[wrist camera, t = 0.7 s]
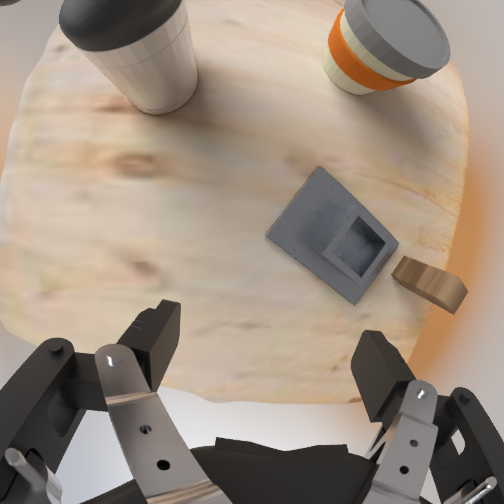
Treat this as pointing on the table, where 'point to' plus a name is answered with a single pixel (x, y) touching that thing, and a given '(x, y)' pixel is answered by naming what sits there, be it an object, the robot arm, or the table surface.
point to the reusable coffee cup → (384, 45)
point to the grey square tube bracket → (333, 235)
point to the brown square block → (431, 283)
